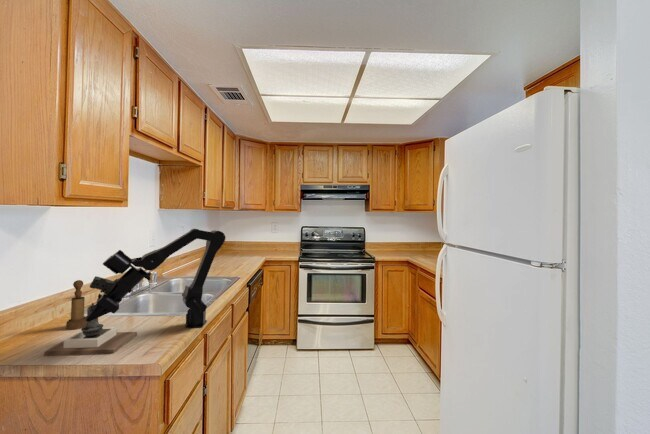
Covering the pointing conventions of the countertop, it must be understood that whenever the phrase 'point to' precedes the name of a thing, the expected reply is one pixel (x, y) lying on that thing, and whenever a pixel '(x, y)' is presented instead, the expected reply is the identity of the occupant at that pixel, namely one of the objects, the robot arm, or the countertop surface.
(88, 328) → the salt shaker
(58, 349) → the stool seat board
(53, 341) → the countertop surface
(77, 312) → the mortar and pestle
